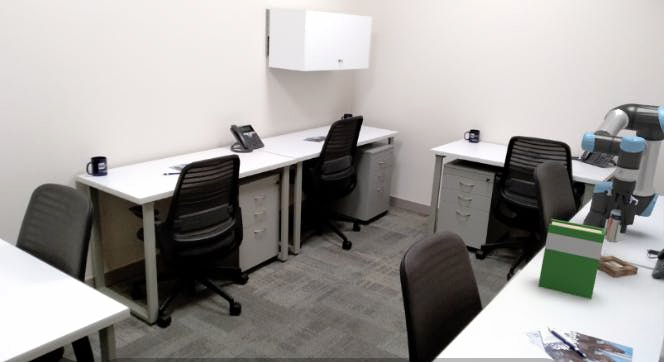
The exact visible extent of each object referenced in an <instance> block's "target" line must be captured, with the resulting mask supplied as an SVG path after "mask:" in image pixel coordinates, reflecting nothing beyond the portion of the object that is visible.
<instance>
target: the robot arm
mask: <svg viewBox="0 0 664 362" xmlns="http://www.w3.org/2000/svg"><path fill="white" fill-rule="evenodd" d="M622 130H624V131H625V130H626V131H632V132H633V131H634V132H635V136H634V135H624V136H618V135H619V133H620V132H621V131H622ZM663 141H664V106H663V105H650V104H649V105H648V104H640V103H625V104H621V105H618V106H615V107H614V108H612V109H610V110H608V111H607V113H606V114H605V115H604V118H603V121H602V123H600V125H599V126H598V128H597V129H596V130H595V131H591V132H590V131H589V132H588V131H587V132H585V133H584V134H583V135H582V140H581V144H580V146H581V147H580V148H581V150H582V151H583V152H584V151H586V152H589V153H594V154H601V155H608V156H613V157H617V160H616V164H615V168H614V170H615V171H614V174H613V175H614V177H613V179H612V181H600V182H597V183H595V185H594V188H593V191H592V197H591V198H592V199H591V202H590V208H589V211H588V213H587V214H586V216H585V218H584V219H583V222H582V225H587V226H593V227H598V228H603V229H605V236H606V231H607V226H608V221H609V217H610V212H611V211H612V210H613V209H618V210H621V224H619V225H618V229H617V234H616V239H615V241H619V242H621V241H623V240H624V239H623V238H624V234H626V232H627V229H628V226H633V225H634V221H635V216H638V217H645V218H649V217H650V216H652V213H653V210H654V208H655V205H656V203H657V200H658V198H659V194H658V193H656V189H655V187H653V186H654V182H655V181H654V180H655V177H656V176H655V175H656V170H657V167H658V166H657V165H658V162H659V156H660V152H661V151H660V150H661V146H662V142H663Z"/></svg>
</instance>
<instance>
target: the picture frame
mask: <svg viewBox="0 0 664 362" xmlns="http://www.w3.org/2000/svg"><path fill="white" fill-rule="evenodd" d="M638 270H639V267H637V266H635V265H634V264H630V263H629V262H627V261H624V260H623V259H620V258H618V257H616V256H614V255H608V256H600V261H599V265H598V271H601V272H602V273H604V274H606V275H608V276H610V277H613V278H622V277H628V276H634V275H635V276H636V275H638Z"/></svg>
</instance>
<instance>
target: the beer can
mask: <svg viewBox="0 0 664 362" xmlns="http://www.w3.org/2000/svg"><path fill="white" fill-rule="evenodd" d="M619 224H621V210H618V209H613V210H612V211H611V212H610V217H609V221H608V226H607V231H606V236H605V237H604V240H606V241H607V242H609V243H613V244H615V243H619V242H620V241H615V239H616V234H617V229H618V225H619Z"/></svg>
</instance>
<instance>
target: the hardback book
mask: <svg viewBox="0 0 664 362" xmlns="http://www.w3.org/2000/svg"><path fill="white" fill-rule="evenodd" d="M548 225H549V226H548V229H547V235H546V241H545V247H544V251H543V257H542V258H543V259H542V263H541V269H540V274H539V280H538V284H537V285H538V287H539V288H543V289H547V290H551V291H555V292H560V293H564V294H569V295H572V296H576V297H581V298H584V299H589V300H592V297H593V293H594V290H595V289H594V288H595V283H596V281H597V280H596V279H597V275H598V271H599V269H598V265H599V261H600V257H602V256H601V255H602V251H603V246H604V241H605V229H603V228H598V227H593V226H587V225H583V223H577V222H570V221H565V220H559V219H554V218H550V222H549V224H548Z"/></svg>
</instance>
